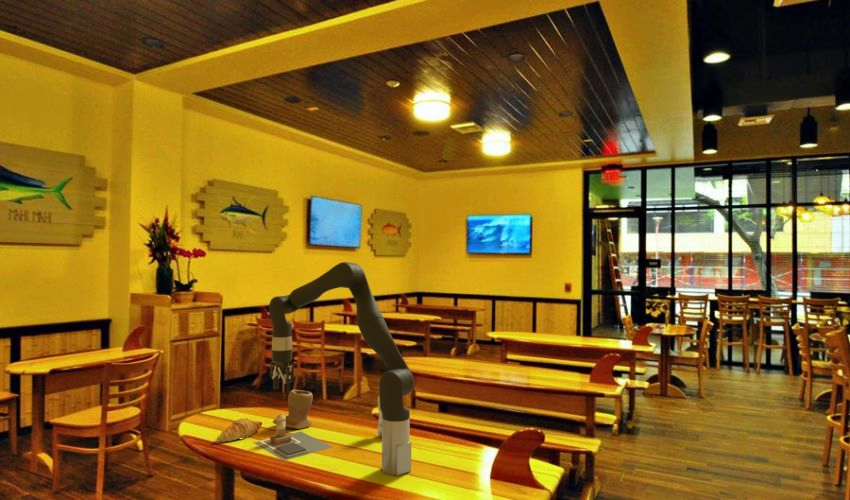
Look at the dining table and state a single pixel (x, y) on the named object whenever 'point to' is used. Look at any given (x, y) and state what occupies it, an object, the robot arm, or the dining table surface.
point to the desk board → (294, 446)
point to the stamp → (280, 432)
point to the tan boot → (298, 409)
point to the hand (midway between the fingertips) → (281, 391)
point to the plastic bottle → (379, 419)
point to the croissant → (239, 430)
